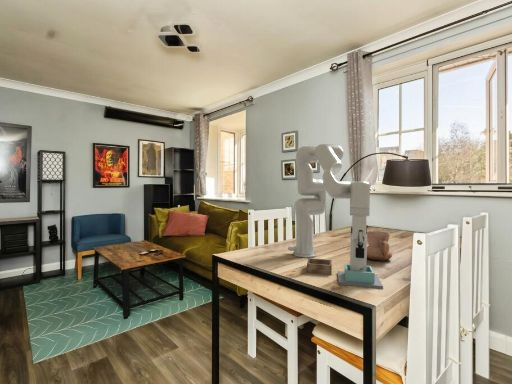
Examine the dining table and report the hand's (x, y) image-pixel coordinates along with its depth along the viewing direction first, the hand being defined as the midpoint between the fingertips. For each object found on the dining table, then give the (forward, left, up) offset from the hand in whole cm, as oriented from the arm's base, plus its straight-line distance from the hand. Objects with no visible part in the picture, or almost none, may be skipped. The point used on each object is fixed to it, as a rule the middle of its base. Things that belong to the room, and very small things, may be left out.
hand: (358, 255), depth 112 cm
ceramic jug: (+13, +37, -11) cm, 41 cm away
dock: (0, 0, -10) cm, 10 cm away
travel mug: (0, 0, -8) cm, 8 cm away
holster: (-16, +9, -10) cm, 21 cm away
